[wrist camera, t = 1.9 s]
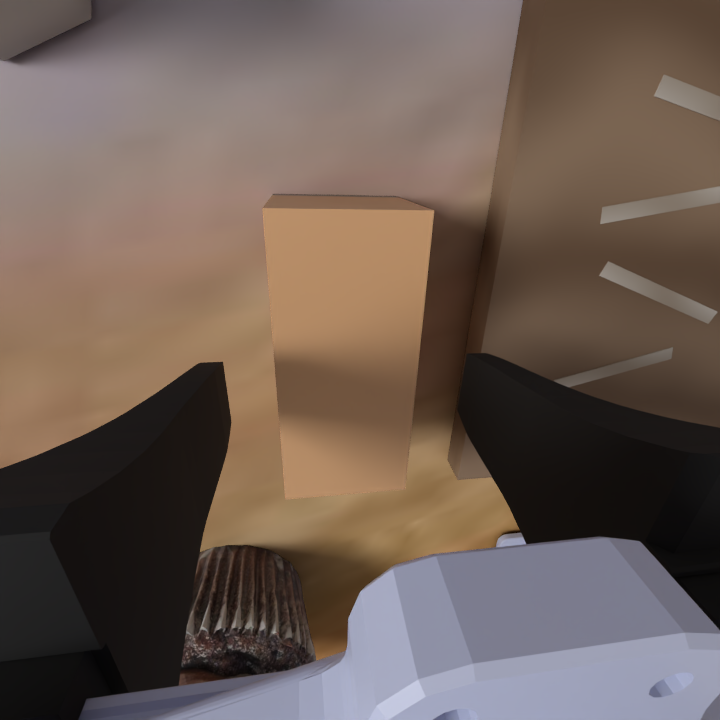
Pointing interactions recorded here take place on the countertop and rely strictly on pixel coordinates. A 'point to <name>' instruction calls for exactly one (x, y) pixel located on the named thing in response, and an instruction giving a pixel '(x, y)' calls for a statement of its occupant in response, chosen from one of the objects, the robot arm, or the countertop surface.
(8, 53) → the flask
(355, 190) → the countertop surface
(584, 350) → the board
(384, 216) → the block
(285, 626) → the cupcake
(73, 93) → the countertop surface
